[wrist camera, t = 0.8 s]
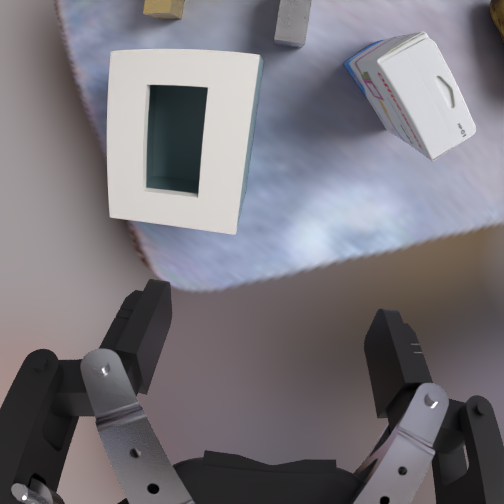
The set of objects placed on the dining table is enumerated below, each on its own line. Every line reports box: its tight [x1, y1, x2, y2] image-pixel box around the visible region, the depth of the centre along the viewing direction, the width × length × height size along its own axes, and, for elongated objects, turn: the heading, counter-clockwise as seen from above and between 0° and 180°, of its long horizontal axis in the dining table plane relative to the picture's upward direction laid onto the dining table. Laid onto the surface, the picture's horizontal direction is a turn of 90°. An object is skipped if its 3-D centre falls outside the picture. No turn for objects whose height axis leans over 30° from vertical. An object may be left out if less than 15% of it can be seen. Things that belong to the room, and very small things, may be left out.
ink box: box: [344, 32, 476, 161], centre depth 22 cm, size 9×5×12 cm, turn 38°
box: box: [107, 49, 264, 235], centre depth 27 cm, size 14×11×10 cm
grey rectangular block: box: [274, 0, 311, 48], centre depth 23 cm, size 3×6×4 cm, turn 173°
